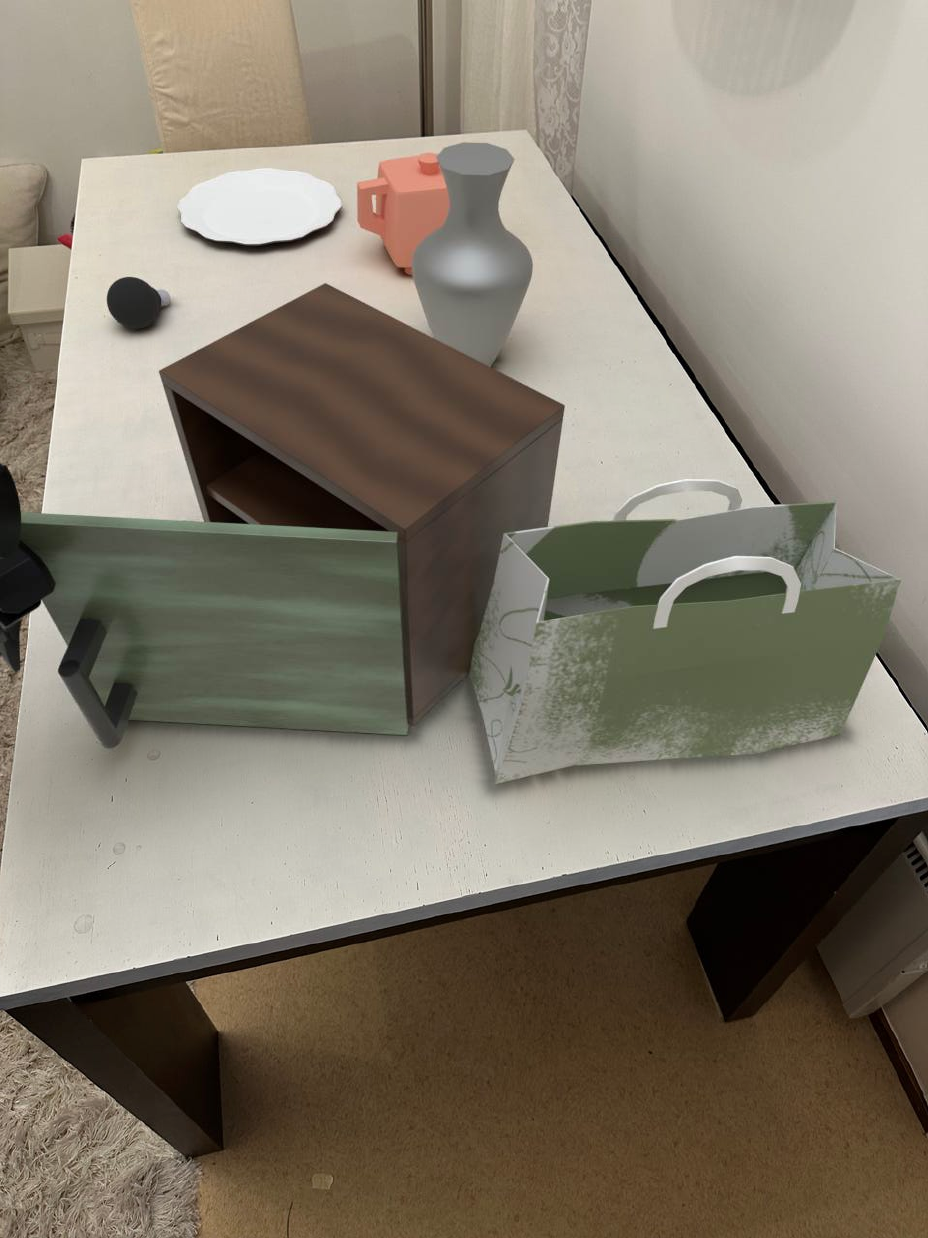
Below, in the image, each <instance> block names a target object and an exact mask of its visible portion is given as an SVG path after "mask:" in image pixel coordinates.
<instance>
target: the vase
mask: <svg viewBox="0 0 928 1238" xmlns="http://www.w3.org/2000/svg"><path fill="white" fill-rule="evenodd" d="M437 154H438V156H437V157H436V158H437V161H438V163H439V166H440V168H441V171H442V174H443V177H444V180H445V183H446V187H447V190H448V195H449V212H448V215H447V218H446V220H445V222H444V224H443V225H442V226H441V227H440V228H438V229H437V230H435V231H433V232H432V233H430V234H429V235H428V236H426V237H425V238H424V239H423V240H422V241H421V242H420V243H419V244H418V246H417V248H416V249H415V251H414V253H413V257H412V262H411V263H412V274H413V275H412V279H413V282H414V286H415V289H416V292H417V295H418V299H419V301H420V305H421V307H422V310H423V313H424V316H425V319H426V322H427V324H428V327H429V330H430V332H431V334H432V338H434V339H436V340H438V341H440V342H442V343H444V344H446V345H448V346H450V347H452V348H454V349H456V350H458V351H460V352H462V353H464V354H466V355H467V356H469V357H471V358H473V359H475V360H477V361H479V362H481V363H483V364H485V365H487V366H489V367H491V368H492V367H493V364H494V362H495V361H496V359H497V357H498V356H499V354H500V352H501V350H502V349H503V347H504V345H505V343H506V341H507V339H508V337H509V335H510V333H511V331H512V329H513V326H514V324H515V321H516V320H517V316H518V314H519V312H520V310H521V308H522V307H521V306H522V304H523V302H524V299H525V297H526V294H527V291H528V289H529V286H530V284H531V280H532V277H533V271H534V270H533V269H534V262H533V258H532V255H531V252H530V250H529V249H528V247H527V246H526V245H525V243H523V241H522V240H521V239H520V238H519V237H518V236H516V235H515V234H513V232H511V231H509V230H508V229H506V228H505V226H504V224H503V222H502V219H501V216H500V211H499V208H500V207H499V206H500V200H501V199H500V198H501V195H502V192H503V188H504V186H505V183H506V180H507V178H508V176H509V173H510V171H511V168H512V167H513V164H514V162H515V158H514V156H513V155H512V154H511V152H509V150H508V149H507V148H504V147H501V146H498V145H495V144H491V143H488V142H467V141H466V142H459V143H456V144H453V145H452V144H451V145H448V146H446V147H443V148H442V150H441V151H440V152H439V153H437Z"/></svg>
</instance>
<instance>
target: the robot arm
mask: <svg viewBox="0 0 928 1238" xmlns="http://www.w3.org/2000/svg"><path fill="white" fill-rule="evenodd" d="M21 509H22V508H21V502H20V497H19V492H18V489H17V486H16V482H15V480H14V478H13V476H12V473H11V471H10V469H9V468H8V465H6V464H2V463H1V462H0V658H1V659H2V660H3V661H4V662H5V664H6V665H7V666H8V667H9V669H11V671H13V673H18V672H19V671H21V641H20V640H21V637H20V636H21V635H20V634H21V627H22V622H23V621H22V620H23V618H24V617H26V616H28V615H29V614H31V613H32V612H34V611H35V610H37V609H38V608H40V606H41V605H42V600H41V599H43V598H44V597H46V596H48V595H49V594H51V593H52V592H53V591H54V588H55V585H56V582H55V580H54V578H53V576H52V575H51V573H50V571H49V569H48V567H47V566H46V565H45V563H44V562H43V561H42V560H41V558H40V557H39V556H38V555H37V554H36V553H34V552H33V551H32V550H31V549H30V548H29V547H28V546H26V545H25V544H24V543H23V542H22V541H21V540H20V534H21V512H22V510H21Z"/></svg>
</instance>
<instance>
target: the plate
mask: <svg viewBox="0 0 928 1238" xmlns="http://www.w3.org/2000/svg"><path fill="white" fill-rule="evenodd" d="M342 207H343V200H342V199H341V198H340V197H339V196H338V193H337V189H336V187H334V186H333V184H332V183H330V182H329V181H325V180H322V179H319V178H317V177H315V176H314V175H312V174H310V173H307V172H304V171H301V170H285V169H280V168H274V167H261V168H254V169H250V170H237V171H236V170H235V171H234V170H233V171H229V172H225V173H222V174H220V175H217V176H215V177H214V178H211V179H208V180H205V181H202V182H198V183H197V184H196V185H194V186H193V187H190V189H189V191H188V192H187V194H186V195H185V196H184V197H183V198H182V199H180V200H179V201H178V204H177V206H176V208H177V210H178V212H179V213H180V223H181V224H182V225H183V226H184V228H186V229H189V230H190V231H193V232H195V233H198V235H200V236H202V237H203V238H204V239H206V240H209V241H213V242H217V243H229V244H236V245H242V246H246V247H247V246H250V247H251V246H253V247H254V246H257V247H258V246H259V247H260V246H264V245H269V244H276V243H285V242H287V243H289V242H294V241H297V240H301V239H303V238H305V237H306V236H308V235H310V234H311V233H313V232H317V231H319V230H323V229H325V228H327V227H328V226H329V225H330V224H332V223H333V222H334V219H335V216H336V214H337V213H338V212H340V210H341V209H342Z"/></svg>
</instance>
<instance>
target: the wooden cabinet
mask: <svg viewBox="0 0 928 1238" xmlns="http://www.w3.org/2000/svg"><path fill="white" fill-rule="evenodd" d="M158 374H159V377H160V380H161V384H162V386H163V390H164V394H165V396H166V400H167V403H168V404H167V405H168V407H169V411H170V413H171V418H172V420H173V423H174V427H175V430H176V434H177V437H178V440H179V443H180V447H181V450H182V452H183V458H184V461H185V463H186V467H187V471H188V474H189V477H190V480H191V484H192V487H193V490H194V494H195V497H196V501H197V503H198V507H199V510H200V513H201V517H202V520H203V522H216V523H235V524H254V525H273V526H292V527H311V528H330V529H349V530H368V531H387V532H398V542H399V561H400V580H401V599H402V618H403V636H404V655H405V674H406V693H407V712H408V724H411V725H412V726H415V725H416V724H417V723H418V722H419V721H420V720H422V719H423V717H424V716H426V714H427V713H429V712H430V711H431V710H432V709H433V708H434V707H435V706H436V705H437V704H439V702H440V701H442V700H443V698H445V697H446V696H447V695H448V694H449V693H450V692H451V691H452V690H453V689H454V688H456V686H457V685H458V684H460V682H461V681H462V680H463V679H464V678H466V677H467V676H468V675H470V674H469V673H470V667H471V661H472V655H473V649H474V643H475V641H476V638H477V636H478V634H479V632H480V628H481V625H482V621H483V618H484V614H485V611H486V607H487V604H488V600H489V597H490V594H491V590H492V587H493V583H494V578H495V573H496V568H497V563H498V559H499V554H500V549H501V544H502V539H503V534H504V533H509V532H516V531H523V530H530V529H538V528H545V527H549V521H550V514H551V508H552V499H553V493H554V486H555V479H556V473H557V465H558V459H559V458H558V456H559V449H560V445H561V444H560V443H561V435H562V429H563V421H564V416H565V415H564V414H565V409H566V408H565V407H566V405H565V404H564V403H562V402H560V401H557V400H555V399H554V398H551V397H550V396H547V395H546V394H544V393H542V392H540V391H538V390H536V389H534V388H532V387H530V386H529V385H526V384H525V383H522V382H521V381H518V380H517V379H514V378H513V377H511V376H509V375H507V374H504V373H503V372H501V371H499V370H497V369H495V368H493V367H492V366H491V367H489V366H487V365H485V364H483V363H481V362H479V361H477V360H475V359H473V358H471V357H469V356H467V355H466V354H464V353H462V352H460V351H458V350H456V349H454V348H452V347H450V346H448V345H446V344H444V343H442V342H440V341H438V340H436V339H434V337H433V336H431V335H428V334H426V333H424V332H422V331H421V330H419V329H417V328H415V327H413V326H411V325H408V324H407V323H405V322H403V321H401V320H398V319H397V318H395V317H393V316H391V315H390V314H387V313H385V312H383V311H381V310H380V309H377V308H375V307H373V306H371V304H370V305H369V304H368V303H365V302H364V301H362V300H360V299H358V298H356V297H353V296H352V295H350V294H348V293H347V292H344V291H342V290H341V289H338V288H336V287H334V286H332V285H330V284H328V283H327V282H325V283H322V284H320V285H318V286H317V287H315V288H313V289H311V290H309V291H307V292H305V293H303V294H302V295H300V296H298V297H295V298H294V299H292V300H290V301H288V302H287V303H285V304H282V305H281V306H278V307H277V308H274V309H273V310H271V311H269V312H267V313H265V314H263V315H262V316H260V317H258V318H256V319H254V320H252V321H250V322H248V323H246V324H245V325H243V326H241V327H239V328H237V329H235V330H233V331H232V332H230V333H227V334H226V335H224V336H222V337H220V338H218V339H216V340H215V341H213V342H211V343H209V344H207V345H205V346H203V347H201V348H199V349H197V350H195V351H194V352H191V353H189V354H188V355H186V356H184V357H181V359H178V360H176V361H174V362H172V363H171V364H169V365H167V366H165V367H163V368H162V369H159V370H158Z"/></svg>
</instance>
